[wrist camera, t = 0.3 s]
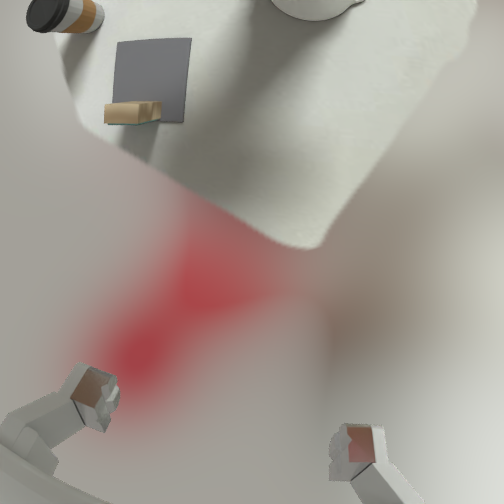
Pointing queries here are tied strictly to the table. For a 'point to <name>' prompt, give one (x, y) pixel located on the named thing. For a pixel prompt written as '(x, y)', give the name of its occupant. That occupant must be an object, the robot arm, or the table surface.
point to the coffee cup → (64, 16)
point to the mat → (153, 74)
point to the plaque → (132, 112)
